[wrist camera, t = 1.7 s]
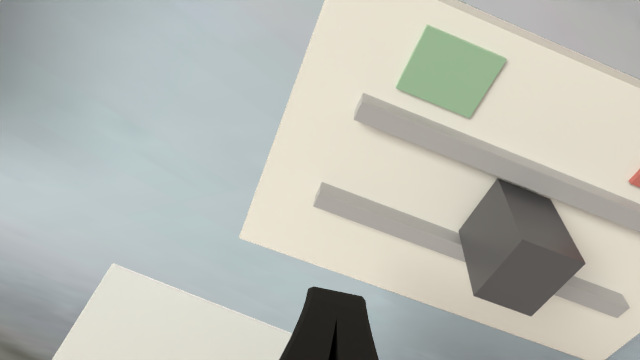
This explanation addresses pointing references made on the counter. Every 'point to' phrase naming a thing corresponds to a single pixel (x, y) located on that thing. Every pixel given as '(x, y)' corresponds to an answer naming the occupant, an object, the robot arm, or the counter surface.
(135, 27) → the counter surface
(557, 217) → the handle
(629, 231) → the slider switch base
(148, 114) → the counter surface
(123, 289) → the milk
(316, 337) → the robot arm
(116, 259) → the counter surface
